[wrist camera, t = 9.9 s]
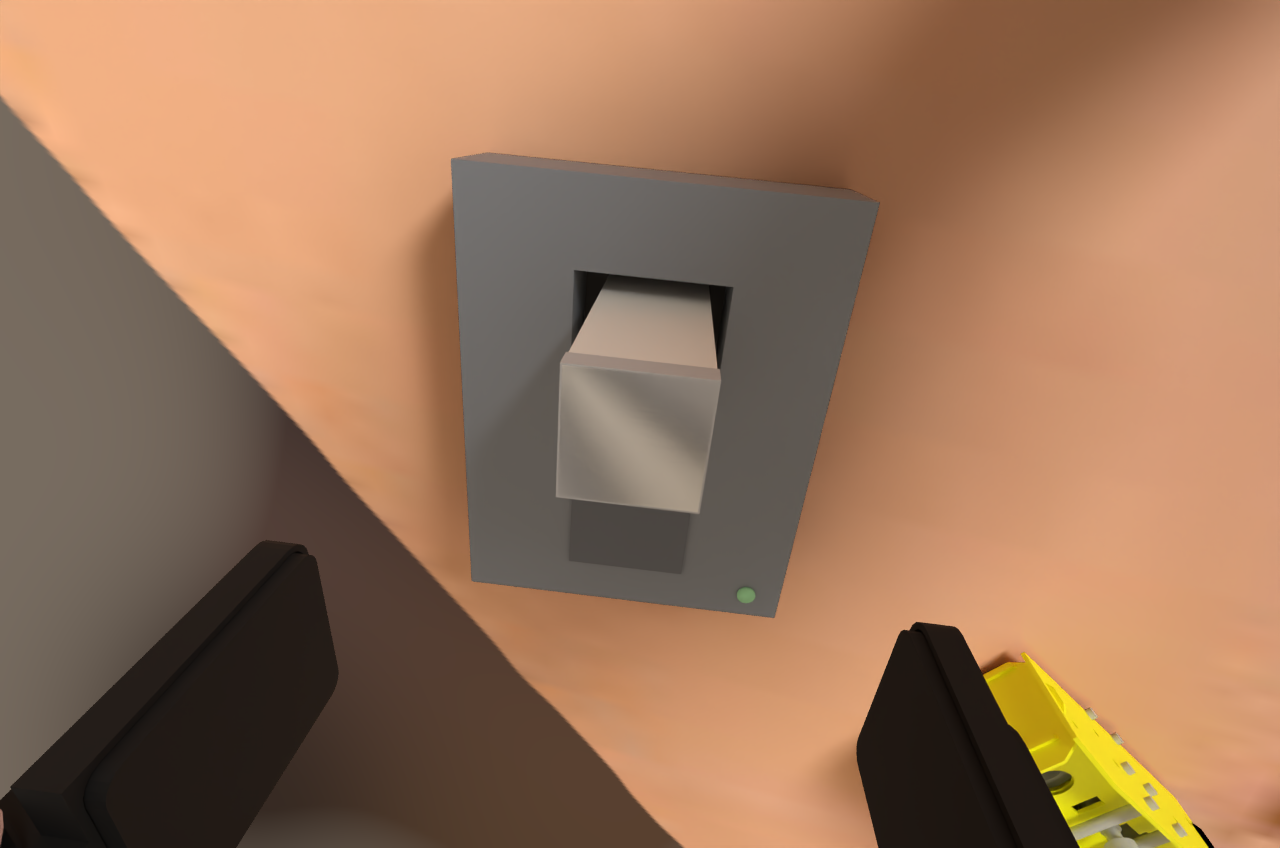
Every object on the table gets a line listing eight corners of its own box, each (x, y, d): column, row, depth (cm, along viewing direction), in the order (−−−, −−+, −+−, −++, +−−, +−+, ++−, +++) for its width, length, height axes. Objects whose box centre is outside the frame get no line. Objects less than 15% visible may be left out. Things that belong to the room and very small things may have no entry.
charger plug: (608, 273, 24) (559, 362, 15) (710, 283, 24) (721, 381, 15) (601, 368, 26) (555, 497, 17) (696, 378, 26) (699, 513, 17)
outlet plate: (487, 152, 23) (449, 159, 20) (850, 189, 23) (881, 203, 19) (496, 529, 32) (470, 583, 28) (764, 560, 31) (774, 620, 28)
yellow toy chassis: (930, 686, 35) (995, 842, 27) (1022, 637, 33) (1119, 791, 25) (1080, 818, 39) (1172, 984, 31) (1170, 782, 37) (1292, 951, 29)
